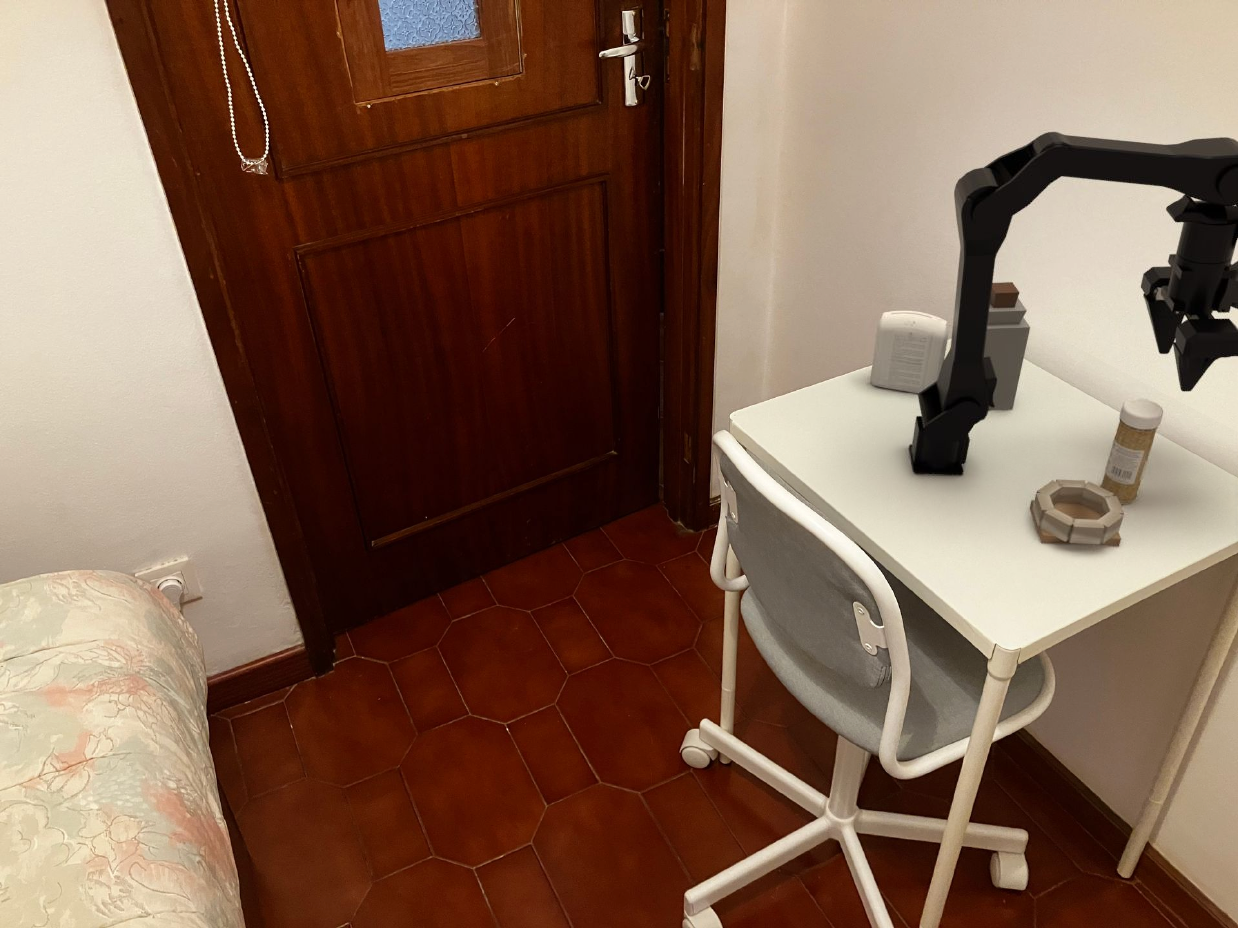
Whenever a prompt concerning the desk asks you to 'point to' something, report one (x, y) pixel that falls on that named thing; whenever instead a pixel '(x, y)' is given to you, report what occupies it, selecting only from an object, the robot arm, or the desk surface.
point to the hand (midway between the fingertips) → (1174, 371)
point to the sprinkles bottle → (1131, 448)
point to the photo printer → (908, 350)
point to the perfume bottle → (1006, 342)
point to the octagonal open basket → (1077, 514)
